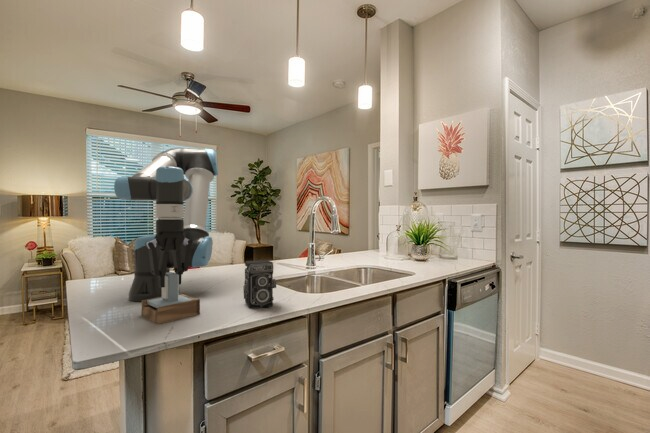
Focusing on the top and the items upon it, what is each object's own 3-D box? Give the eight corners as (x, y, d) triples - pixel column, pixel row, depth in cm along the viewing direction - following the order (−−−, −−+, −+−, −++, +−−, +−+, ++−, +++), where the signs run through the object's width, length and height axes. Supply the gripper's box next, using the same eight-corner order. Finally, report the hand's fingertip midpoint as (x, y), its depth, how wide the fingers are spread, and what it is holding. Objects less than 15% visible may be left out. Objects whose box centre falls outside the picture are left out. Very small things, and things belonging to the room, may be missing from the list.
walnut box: (141, 317, 95) (141, 300, 95) (181, 308, 104) (181, 292, 104) (158, 326, 87) (158, 308, 87) (199, 315, 97) (199, 299, 97)
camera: (246, 312, 99) (246, 265, 99) (241, 304, 109) (241, 260, 109) (279, 309, 104) (279, 263, 104) (271, 300, 113) (271, 258, 113)
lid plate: (147, 303, 95) (147, 273, 95) (178, 297, 102) (178, 269, 102) (160, 310, 89) (160, 277, 89) (193, 302, 96) (193, 273, 96)
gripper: (147, 219, 87) (147, 304, 87) (200, 218, 99) (200, 294, 99) (137, 218, 92) (137, 299, 92) (189, 218, 104) (189, 290, 104)
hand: (170, 296), depth 96 cm, fingers closed on lid plate, 2 cm apart
